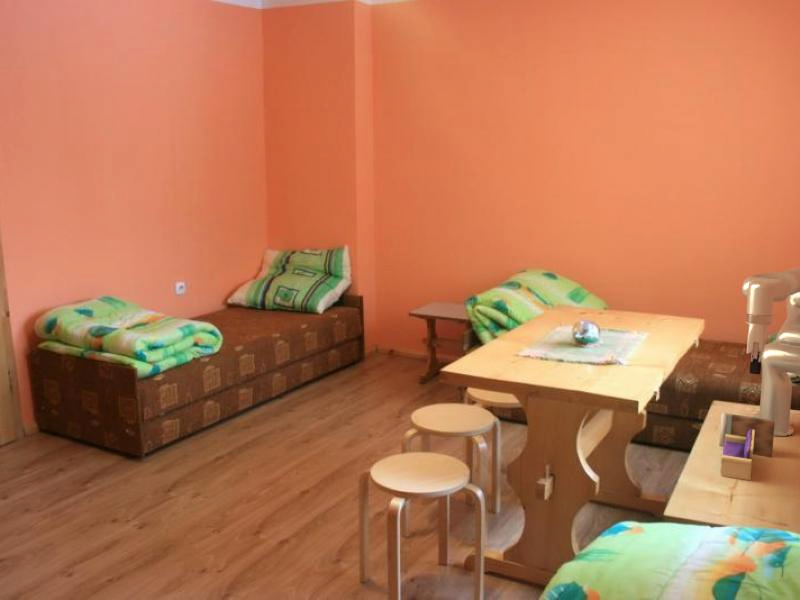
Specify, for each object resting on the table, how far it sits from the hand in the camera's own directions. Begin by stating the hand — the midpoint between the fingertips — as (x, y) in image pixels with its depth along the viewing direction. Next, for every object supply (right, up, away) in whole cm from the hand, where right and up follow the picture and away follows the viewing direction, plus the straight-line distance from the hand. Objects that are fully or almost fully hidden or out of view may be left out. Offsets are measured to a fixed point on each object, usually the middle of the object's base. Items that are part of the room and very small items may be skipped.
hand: (755, 373), depth 237 cm
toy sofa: (-12, -28, -12) cm, 33 cm away
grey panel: (-3, -25, +1) cm, 25 cm away
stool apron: (-3, -26, -2) cm, 26 cm away
